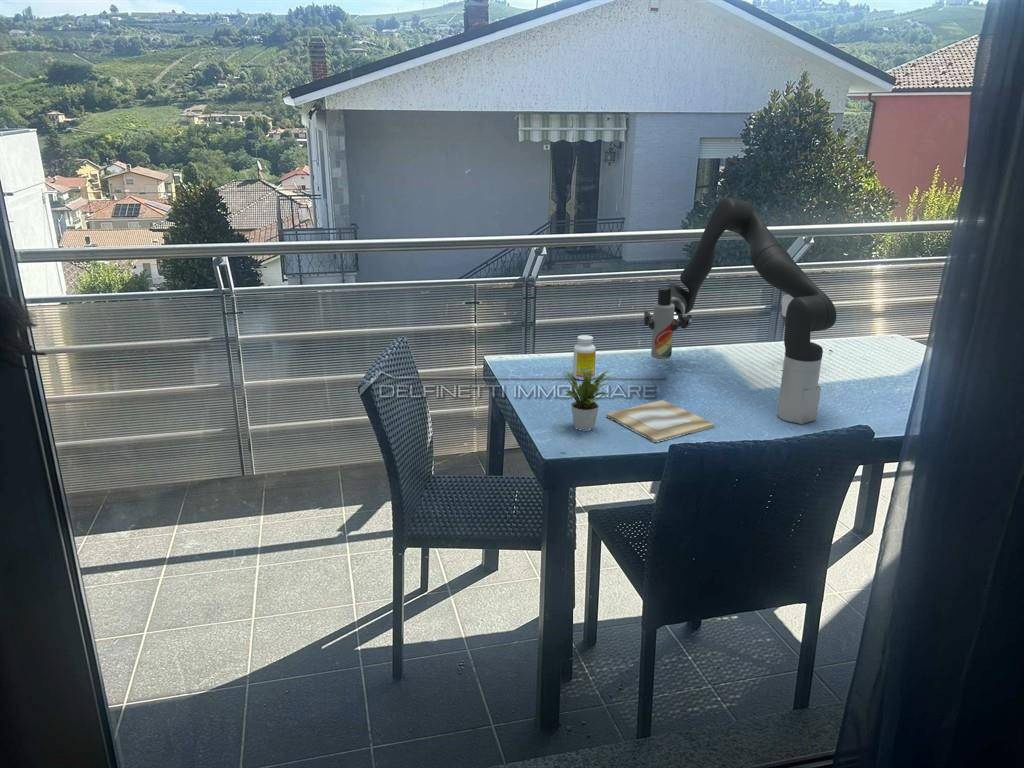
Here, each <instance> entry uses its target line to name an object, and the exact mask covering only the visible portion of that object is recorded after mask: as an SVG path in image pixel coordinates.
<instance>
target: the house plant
mask: <svg viewBox="0 0 1024 768" xmlns="http://www.w3.org/2000/svg"><path fill="white" fill-rule="evenodd" d="M582 371H583V369H582ZM564 372H565V373H566V375H567V376H568V377H569V378H565V380H566V381H567V382H568V383H569V384H570V385H571V390H569V389H567V390H566V392H567V393H566V394H565V395H564V397H572V398H573V399H574V400H575V401H573V402H572V403H571V412H572V420H573V421H572V422H573V427H575V428H577V429H581V430H589V429H593V428H594V429H595V425H596V421H597V417H598V411H599V406H600V405H599V403H598V402H597V401H598V400H599V399H600V398H602V397H603V396H605V395H607V396H609V394H611V395H612V394H613V393H612V392H603V391H601V392H599V390H600V388H601V387H602V386H606V385H607V383H602V382H604V381H606V380H608V379H616V378H617V377H613V376H608V377H606V376H607V373H608V372H609V370H607V371H605V372H603V373H602V372H601V374H600V375H599V376H597V377H594V378H593V379H591V376H592V374H591V368H590V366H589V369H588V368H587V369H586V371H585V373H584V371H583V376H584V379H583V380H582V382H581V384H579V385H578V383H577V381H576V380H575V379H576V378H574V376H573V374H570V372H568V371H567V370H564ZM569 379H570V380H569ZM593 380H594V381H593ZM592 381H593V383H592ZM609 385H611V384H610V383H609ZM600 395H601V396H600ZM597 396H599V397H598V398H597V399H596V397H597ZM575 428H574V429H575ZM577 429H576V430H577ZM594 429H593V430H594Z"/></svg>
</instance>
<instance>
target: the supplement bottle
mask: <svg viewBox="0 0 1024 768" xmlns="http://www.w3.org/2000/svg"><path fill="white" fill-rule="evenodd" d="M576 340H577V343H576V344H575V345H574V347H573V363H572V364H573V366H572V376H573V378H574V379H576V380H578V379H579V380H580V381H583V379H584V376H583V371H584V373H585V371H586V369H587V368H588V369H589V366H590V368H591V374H592V376H591V379H593V378H596V377H595V375H596V374H595V373H596V353H597V352H596V350H597V348H596V346H595V345H594V344H593V342H594V337H593V336H592V335H585V334H580V335H578V336H577V339H576ZM582 369H583V371H582ZM579 380H578V381H579ZM593 380H594V379H593Z"/></svg>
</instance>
